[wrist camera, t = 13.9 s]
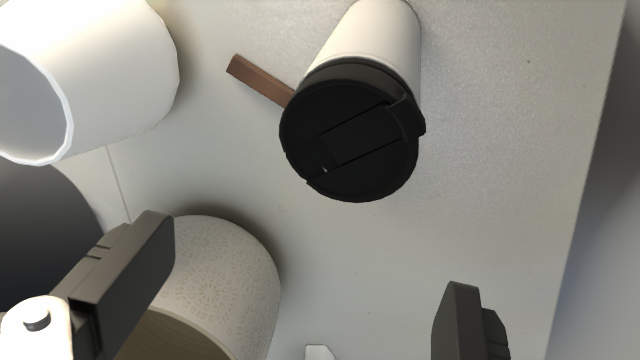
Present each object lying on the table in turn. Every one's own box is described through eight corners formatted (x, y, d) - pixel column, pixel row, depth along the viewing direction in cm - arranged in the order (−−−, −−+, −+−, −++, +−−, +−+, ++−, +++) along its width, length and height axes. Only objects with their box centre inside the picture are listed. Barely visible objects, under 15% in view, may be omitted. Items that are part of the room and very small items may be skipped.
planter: (117, 224, 52) (18, 331, 39) (235, 168, 45) (162, 274, 33) (207, 327, 58) (147, 447, 46) (323, 290, 52) (291, 420, 39)
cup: (171, -50, 36) (51, -24, 25) (215, 112, 43) (137, 194, 31) (27, -26, 39) (-140, 7, 28) (89, 121, 46) (-26, 199, 34)
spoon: (220, 85, 41) (216, 89, 40) (245, 35, 39) (241, 38, 38) (390, 191, 44) (389, 197, 43) (425, 150, 41) (425, 156, 40)
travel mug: (439, 46, 36) (454, 176, 19) (365, 87, 39) (322, 232, 22) (400, -28, 34) (379, 45, 17) (325, 20, 37) (243, 124, 20)
